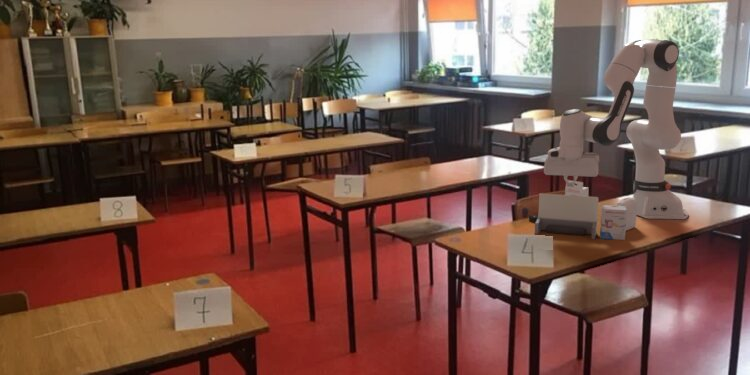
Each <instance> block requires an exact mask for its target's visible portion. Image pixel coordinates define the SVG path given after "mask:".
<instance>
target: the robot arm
mask: <svg viewBox="0 0 750 375" xmlns="http://www.w3.org/2000/svg"><path fill="white" fill-rule="evenodd" d="M679 55H680V50H679V47H678V45H677V44H676V42H674V41H671V40H669V39H664V40H663V39H655V38H654V39H643V40H641V39H640V40H639V39H637V40H634V41H632V42H630V43H626V44H624V45H623V46H622V47H621V48H619V50H618V51H617V52H616V54H614V57H613V59H612V60H611V62H610V63H609V65H608V66H607V68H606V71H605V73H604V77H603V80H604V81H603V82H604V85H605V86H606V88H607V89H608V90H610V92H612V93H613V94H614V99H613V101H612V104H611V106H610V108H609V111H608V114H607V115H606V116H605V117H597V116H592V115H589V114H587V113H586V112H584V111H583V110H582V109H579V108H573V109H568V110H566V111H564V112H562V114H561V117H560V123H559V136H560V141H559V146H557V147H554V148H551V149H549V150H548V151H547V156H546V158H545V160H544V167H543V173H544V174H545V175H546V176H563V180H564V181H565V187H574V185H576V184H575V181H577V179H578V177H590V178H591V177H593V178H594V177H595V178H596V177H598V175H599V163H600V155H599V154H598V153H596V152H594V151H593V152H588V151H586V152H585V151H584V141H586V142H590V143H595V144H598V145H601V146H604V147H609V146H612V145H614V144H615V142H616V141H618V139H619V137H620V134H621V129H622V127H623V126H622V125H623V122H624V119H625V117H626V114H627V112H628V110H629V107H630V105H631V102H632V100H633V96H634V92H635V87H634V83H635V80H636V78H637V76H638V74H639V72H640V70H641V68H642V69H643V68H644V69H648V76H647V79H646V84H645V90H644V96H643V106H644V107H643V108H644V109H645V110H646V112H647V116H648V119H646V118H642V119H635V120H633V121H631V122H630V123H629V124H628V125H627V126H626V130H625V132H626V133H625V134H626V137H627V138H628V140H629V142H630V143H631V145H632V146H631V147H632V148H633V149H632V150H633V153H634V156H635V158H634V159H635V178H634V180H633V189H632V190H633V197H632V198H634V199H635V200H636V201H637V211H636V216H639V217H642V218H644V219H648V220H649V219H652V220H654V219H655V220H656V219H658V220H661V219H662V220H686V219H688V218H689V213H688V211H687V210H685V209H684V206H683V202H682V200H681V198H680V197H679V196H678V195H676V194H675V193H674V192H672V191H671V190H670V189H671V184H670V182H669V181H667V180H665V175H666V174H665V173H666V162H665V159H664V158H663V157H662V155H661V153H660V150H665V151H667V150H672V149H675V148H676V147H677V146H678V145H679V144H680V142H681V139H682V133H681V131H680V128H678V126H677V124H676V121H675V116H674V103H675V102H674V100H675V94H676V89H677V82H678V81H677V79H678V66H677V62H678V59H679ZM569 176H570V177H573V180H572V181H573V182H569V181H568V180H569V179H568V178H569Z"/></svg>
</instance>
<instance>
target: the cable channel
mask: <svg viewBox="0 0 750 375" xmlns="http://www.w3.org/2000/svg"><path fill="white" fill-rule="evenodd" d="M548 225H557V226H570V227H583V228H585V229H586V234H587V235H591V240H596V236H597V230H598V229H597V226H598V221H597V222H590V221H576V220H562V219H549V218H538V219H537V221H536V222H534V235H539V234H540V232H541V230H542V231H546V227H547V226H548ZM538 233H539V234H538Z"/></svg>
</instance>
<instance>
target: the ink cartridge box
mask: <svg viewBox="0 0 750 375" xmlns="http://www.w3.org/2000/svg"><path fill="white" fill-rule="evenodd" d="M568 181H569V182H573V181H574V180H571V179H568ZM564 195H571V196H588V197H589V187H588V186H587V187H586V186H584V182H583V181H577V180H576V181H575V184H574V187H566V186H565V188H564Z"/></svg>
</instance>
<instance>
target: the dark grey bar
mask: <svg viewBox="0 0 750 375" xmlns="http://www.w3.org/2000/svg"><path fill="white" fill-rule="evenodd" d="M545 231H546V232H547V233H549V234H550V233H551V234H561V235H574V236H575V235H576V236H584V235H586V234H587V233H586V229H585V228H583V227H570V226H557V225H548V226H547V227H546V230H545Z"/></svg>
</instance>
